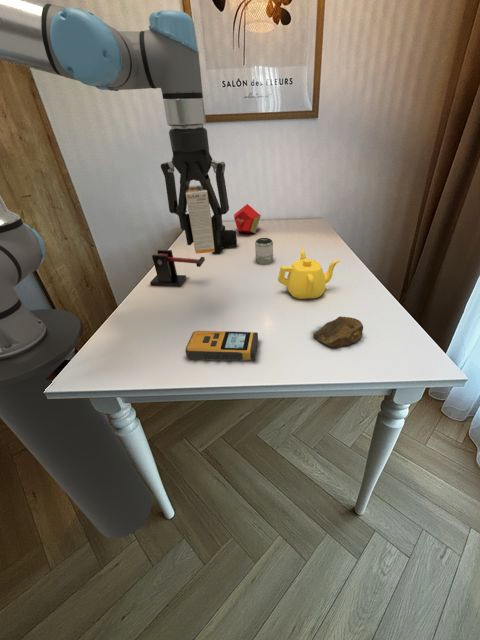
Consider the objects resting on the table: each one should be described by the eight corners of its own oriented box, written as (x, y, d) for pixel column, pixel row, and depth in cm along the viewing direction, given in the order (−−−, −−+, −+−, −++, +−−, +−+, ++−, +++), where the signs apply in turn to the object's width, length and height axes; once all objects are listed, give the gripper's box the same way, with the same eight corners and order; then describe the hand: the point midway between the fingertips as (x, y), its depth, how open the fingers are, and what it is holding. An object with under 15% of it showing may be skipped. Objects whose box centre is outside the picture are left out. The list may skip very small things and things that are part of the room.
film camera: (235, 253, 119) (233, 229, 113) (210, 254, 119) (207, 230, 113) (237, 240, 131) (235, 217, 125) (214, 241, 131) (212, 218, 125)
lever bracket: (186, 278, 103) (180, 249, 97) (180, 286, 99) (173, 257, 92) (158, 277, 105) (150, 248, 98) (150, 285, 100) (142, 256, 94)
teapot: (337, 290, 94) (341, 258, 87) (310, 307, 86) (312, 274, 80) (300, 277, 101) (302, 247, 95) (273, 292, 94) (273, 260, 88)
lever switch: (205, 262, 98) (204, 255, 97) (200, 269, 94) (199, 261, 93) (162, 258, 99) (161, 251, 98) (156, 265, 96) (155, 257, 94)
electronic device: (195, 339, 76) (193, 328, 74) (258, 340, 75) (257, 329, 73) (186, 361, 70) (183, 349, 68) (254, 363, 68) (254, 351, 66)
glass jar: (270, 265, 109) (270, 243, 104) (253, 264, 111) (252, 242, 106) (275, 258, 114) (274, 237, 109) (258, 257, 115) (257, 236, 111)
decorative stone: (336, 354, 70) (338, 342, 68) (307, 335, 76) (308, 323, 74) (366, 337, 75) (369, 325, 72) (337, 320, 81) (338, 308, 78)
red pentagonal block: (265, 231, 142) (256, 235, 129) (240, 232, 145) (228, 235, 132) (264, 202, 137) (254, 203, 124) (238, 204, 140) (226, 204, 127)
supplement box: (215, 252, 73) (208, 191, 65) (195, 254, 73) (184, 193, 64) (213, 240, 80) (206, 183, 71) (194, 242, 79) (185, 185, 71)
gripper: (238, 125, 63) (245, 239, 77) (150, 127, 65) (172, 237, 80) (229, 127, 57) (239, 250, 71) (133, 129, 60) (161, 248, 74)
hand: (204, 243), depth 76 cm, fingers closed on supplement box, 6 cm apart
